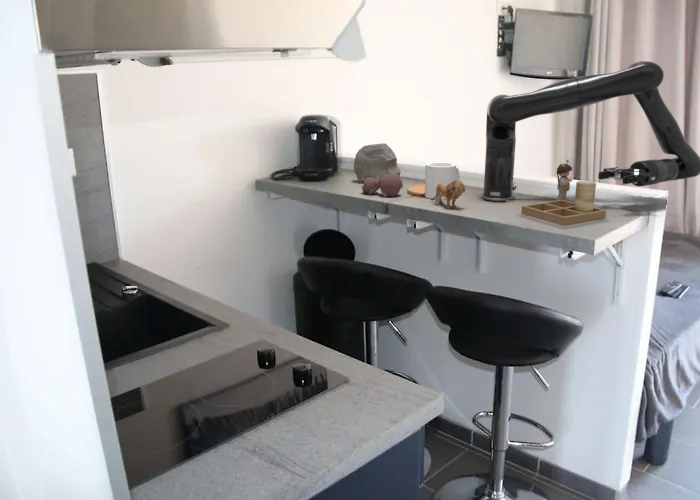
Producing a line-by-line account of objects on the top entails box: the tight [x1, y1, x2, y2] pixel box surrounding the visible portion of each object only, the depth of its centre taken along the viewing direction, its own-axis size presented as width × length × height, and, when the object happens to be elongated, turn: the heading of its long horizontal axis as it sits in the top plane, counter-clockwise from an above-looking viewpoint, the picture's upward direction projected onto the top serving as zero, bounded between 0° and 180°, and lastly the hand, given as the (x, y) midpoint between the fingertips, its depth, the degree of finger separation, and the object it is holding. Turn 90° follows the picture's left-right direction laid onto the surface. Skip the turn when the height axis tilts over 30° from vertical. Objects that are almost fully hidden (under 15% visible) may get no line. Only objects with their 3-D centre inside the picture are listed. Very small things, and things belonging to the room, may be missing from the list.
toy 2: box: [554, 157, 573, 201], centre depth 199 cm, size 6×6×15 cm
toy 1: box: [361, 173, 404, 198], centre depth 216 cm, size 8×8×15 cm
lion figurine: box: [430, 179, 468, 210], centre depth 199 cm, size 15×5×9 cm, turn 33°
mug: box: [424, 161, 461, 200], centre depth 213 cm, size 14×10×11 cm
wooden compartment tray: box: [520, 199, 607, 227], centre depth 183 cm, size 16×16×3 cm
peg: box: [574, 180, 597, 213], centre depth 180 cm, size 5×5×10 cm
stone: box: [353, 142, 402, 182], centre depth 234 cm, size 19×7×15 cm, turn 53°
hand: (611, 178), depth 183 cm, fingers open, 8 cm apart
